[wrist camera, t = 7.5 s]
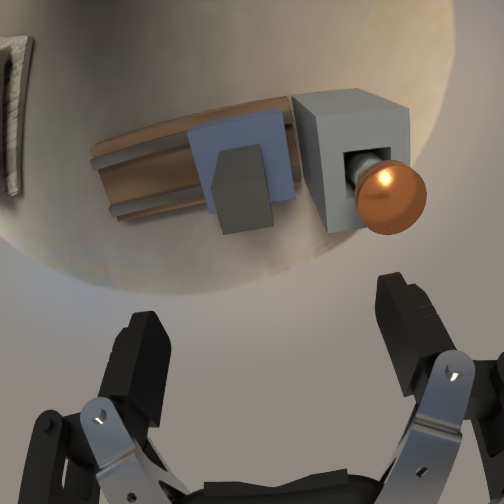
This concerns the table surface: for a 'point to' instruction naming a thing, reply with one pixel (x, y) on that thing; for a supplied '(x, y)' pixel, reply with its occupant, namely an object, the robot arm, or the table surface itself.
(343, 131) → the end cabinet
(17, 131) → the packaged product
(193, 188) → the rail bed
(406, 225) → the orange push button
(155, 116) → the table surface
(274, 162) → the carriage
